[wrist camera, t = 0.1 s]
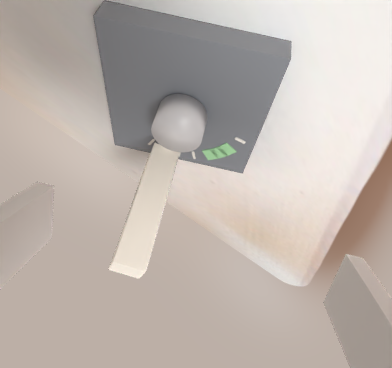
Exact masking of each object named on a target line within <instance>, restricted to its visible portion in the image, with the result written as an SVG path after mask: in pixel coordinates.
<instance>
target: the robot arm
mask: <svg viewBox="0 0 392 368" xmlns="http://www.w3.org/2000/svg"><path fill="white" fill-rule="evenodd" d="M53 198H54V185H49V184H45V183H41V182H36V183H34V184H33V185H31V186H29V187H28V188H26V189H25V190H23V191H21V192H19V193H18V194H16V195H15V196H13V197H11V198H10V199H8V200H6V201H5V202H3V203H1V204H0V289H1V288H2V287H3V286H4V285H5V284H6V283H7V282H8V281H9V280H10V279H11V278H12V277H13V276H14V275H15V274H16V273H17V272H18V271H19V270H20V269H21V268H22V267H23V266H24V265H25V264H26V263H27V262H28V261H29V260H30V259H31V258H32V257H33V256H34V255H35V254H36V253H37V252H38V251H39V250H40V249H41V248H42V247H44V245H45V244H47V242H49V241H50V240H51V238H52V220H53V219H52V218H53ZM323 303H324V305H325V308H326V310H327V313H328V315H329V317H330V320H331V322H332V325H333V327H334V330H335V332H336V335H337V337H338V339H339V342H340V344H341V347H342V349H343V352H344V354H345V356H346V359H347V361H348V364H349V366H350V368H392V298H391V296H390V295H389V294H388V292H387V291H386V289H385V288H384V287H383V285H382V284H381V282H380V281H379V280H378V278H377V277H376V275H375V274H374V273H373V271H372V270H371V268H370V267H369V266H368V264H367V263H366V261H365V260H364V259H363V258H361V257H357V256H353V255H348V254H346V255H345V257H344V259H343V262H342V264H341V266H340V268H339V270H338V272H337V274H336V276H335V278H334V281H333V283H332V285H331V287H330V289H329V291H328V294H327V296H326V298H325V300H324V302H323Z"/></svg>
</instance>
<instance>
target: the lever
mask: <svg viewBox="0 0 392 368" xmlns="http://www.w3.org/2000/svg"><path fill="white" fill-rule="evenodd" d="M206 122H207V112H206V109H205V108H204V106H203V105H202V104H201V103H200V102H199V101H198V100H196V99H195V98H193V97H191V96H188V95H184V94H173V95H169V96H167V97H165V98H164V99H163V100H162V101H161V103H160V105H159V108H158V111H157V113H156V116H155V119H154V121H153V124H152V127H151V132H152V135H153V137H154V139H155V140H156V141H157V142H158V143H159V144H157V143H154V145H153V148H152V150H151V152H150V154H149V157H148V159H147V162H146V165H145V168H144V171H143V173H142V176H141V179H140V182H139V185H138V188H137V190H136V193H135V196H134V199H133V202H132V205H131V208H130V210H129V213H128V216H127V219H126V222H125V225H124V227H123V230H122V233H121V236H120V238H119V241H118V244H117V247H116V250H115V253H114V255H113V258H112V261H111V264H110V267H109V270H111V271H115V272H118V273H121V274H125V275H128V276H131V277H135V278H138V279H139V278H140V277H141V276H142V275H143V274H144V273H145V272H146V270H147V267H148V263H149V259H150V256H151V253H152V249H153V245H154V242H155V238H156V235H157V231H158V228H159V224H160V221H161V217H162V214H163V210H164V207H165V203H166V200H167V196H168V193H169V189H170V186H171V182H172V179H173V175H174V172H175V168H176V165H177V161H178V158H179V154H180V152H190V151H193V150H195V149H197V148H198V147H199V146H200V144H201V142H202V138H203V134H204V130H205V126H206Z"/></svg>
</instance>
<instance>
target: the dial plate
mask: <svg viewBox="0 0 392 368" xmlns="http://www.w3.org/2000/svg"><path fill="white" fill-rule="evenodd" d="M94 22H95V28H96V34H97V40H98V46H99V52H100V58H101V64H102V70H103V76H104V82H105V88H106V94H107V100H108V106H109V112H110V118H111V124H112V130H113V136H114V142H115V145H118V146H123V147H127V148H132V149H136V150H141V151H145V152H149V153H150V152H151V150H152V148H153V145H154V143H157V144H159V143H158V142H157V141H156V140H155V139H154V137H153V135H152V132H151V127H152V124H153V121H154V119H155V116H156V113H157V111H158V108H159V105H160V103H161V101H162V100H163V99H164V98H165V97H167V96H169V95H173V94H184V95H188V96H191V97H193V98H195V99H196V100H198V101H199V102H200V103H201V104H202V105H203V106H204V108H205V109H206V112H207V122H206V126H205V130H204V134H203V138H202V142H201V144H200V146H199V147H198V148H197V149H195V150H193V151H190V152H180V154H179V158H178V159H181V160H185V161H190V162H194V163H199V164H203V165H208V166H212V167H216V168H221V169H225V170H230V171H234V172H239V173H243V171H244V169H245V166H246V164H247V162H248V159H249V157H250V155H251V152H252V150H253V148H254V145H255V143H256V140H257V138H258V136H259V133H260V131H261V129H262V126H263V124H264V122H265V119H266V117H267V114H268V112H269V110H270V107H271V105H272V103H273V100H274V98H275V95H276V93H277V91H278V88H279V86H280V84H281V81H282V79H283V77H284V74H285V72H286V69H287V67H288V65H289V62H290V60H291V42H292V41H287V40H283V39H278V38H274V37H269V36H264V35H260V34H255V33H251V32H246V31H242V30H237V29H233V28H228V27H223V26H219V25H214V24H210V23H205V22H201V21H196V20H191V19H187V18H182V17H178V16H173V15H169V14H164V13H160V12H155V11H150V10H146V9H141V8H137V7H132V6H128V5H123V4H119V3H114V2H109V1H105V0H104V1H103V3H102V4H101V6H100V7H99V9H98V10H97V11H96V13H95V14H94Z"/></svg>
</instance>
